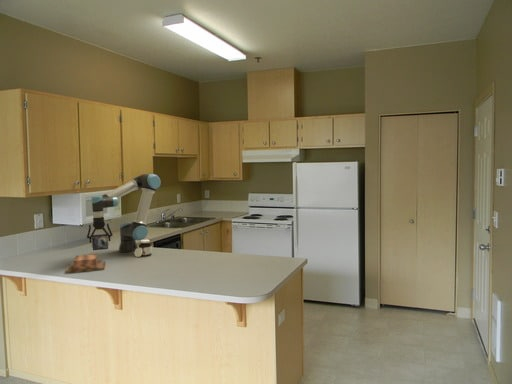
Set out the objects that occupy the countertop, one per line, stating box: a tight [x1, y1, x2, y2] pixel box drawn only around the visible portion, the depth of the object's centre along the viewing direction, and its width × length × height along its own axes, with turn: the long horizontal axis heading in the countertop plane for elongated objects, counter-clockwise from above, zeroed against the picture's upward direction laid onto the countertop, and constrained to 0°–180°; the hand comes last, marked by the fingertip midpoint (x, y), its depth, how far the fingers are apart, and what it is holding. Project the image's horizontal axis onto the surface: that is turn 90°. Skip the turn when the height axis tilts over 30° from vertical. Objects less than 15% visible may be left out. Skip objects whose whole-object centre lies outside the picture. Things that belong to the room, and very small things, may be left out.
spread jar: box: [134, 239, 153, 258], centre depth 323 cm, size 12×11×12 cm
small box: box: [91, 233, 109, 251], centre depth 310 cm, size 11×6×10 cm, turn 105°
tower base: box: [65, 253, 107, 274], centre depth 289 cm, size 24×19×8 cm
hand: (100, 246), depth 310 cm, fingers closed on small box, 10 cm apart
